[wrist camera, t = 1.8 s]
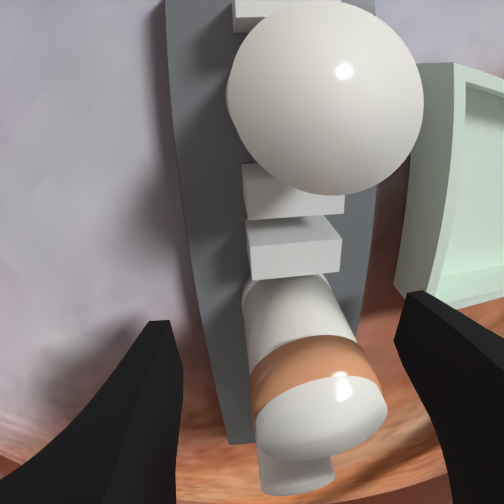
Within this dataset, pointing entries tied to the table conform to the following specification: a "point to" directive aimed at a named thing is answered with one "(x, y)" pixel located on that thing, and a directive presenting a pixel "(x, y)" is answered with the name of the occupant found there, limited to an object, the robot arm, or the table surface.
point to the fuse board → (247, 199)
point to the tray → (456, 190)
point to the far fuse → (293, 474)
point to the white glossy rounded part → (325, 97)
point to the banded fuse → (306, 371)
